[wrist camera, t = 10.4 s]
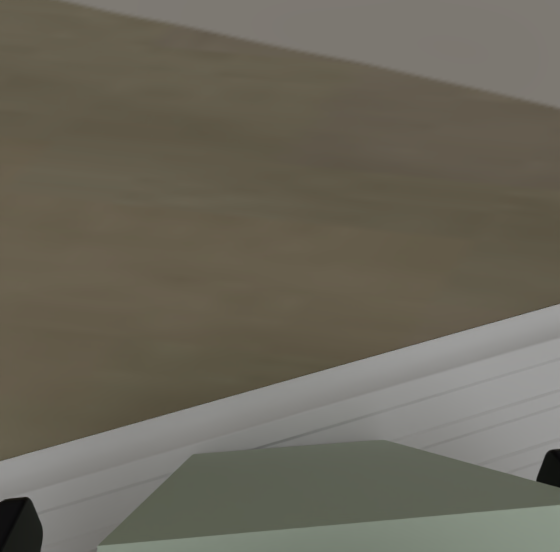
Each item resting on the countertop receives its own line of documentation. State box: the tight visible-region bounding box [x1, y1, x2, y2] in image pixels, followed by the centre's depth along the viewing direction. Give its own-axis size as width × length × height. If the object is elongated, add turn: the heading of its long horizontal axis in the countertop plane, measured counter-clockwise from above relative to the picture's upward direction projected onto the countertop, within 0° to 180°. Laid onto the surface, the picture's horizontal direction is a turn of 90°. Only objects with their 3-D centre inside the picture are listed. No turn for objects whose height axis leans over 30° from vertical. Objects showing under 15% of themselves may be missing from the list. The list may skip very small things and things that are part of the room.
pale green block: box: [97, 440, 560, 552], centre depth 11 cm, size 3×6×11 cm, turn 94°
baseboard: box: [0, 304, 560, 552], centre depth 17 cm, size 31×3×12 cm
